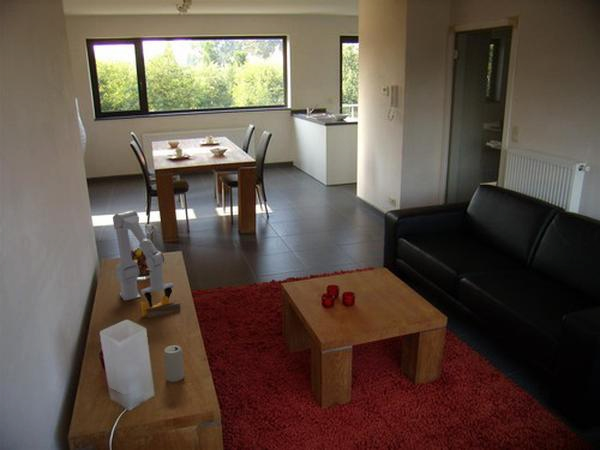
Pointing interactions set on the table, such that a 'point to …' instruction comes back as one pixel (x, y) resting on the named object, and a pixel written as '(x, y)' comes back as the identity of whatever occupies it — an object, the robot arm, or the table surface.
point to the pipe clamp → (144, 306)
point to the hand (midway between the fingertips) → (158, 304)
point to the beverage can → (174, 363)
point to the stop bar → (163, 309)
